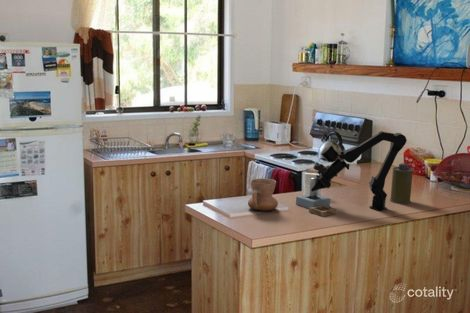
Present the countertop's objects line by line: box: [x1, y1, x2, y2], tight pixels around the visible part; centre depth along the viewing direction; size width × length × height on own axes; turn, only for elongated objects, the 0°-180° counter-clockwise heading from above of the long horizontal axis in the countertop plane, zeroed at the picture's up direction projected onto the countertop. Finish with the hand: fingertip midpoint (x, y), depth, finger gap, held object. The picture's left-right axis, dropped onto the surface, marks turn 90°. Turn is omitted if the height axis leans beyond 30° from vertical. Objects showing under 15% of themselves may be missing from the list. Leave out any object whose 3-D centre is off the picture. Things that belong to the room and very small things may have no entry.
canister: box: [389, 162, 414, 205], centre depth 313 cm, size 11×10×20 cm
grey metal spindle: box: [309, 177, 318, 200], centre depth 299 cm, size 4×4×13 cm
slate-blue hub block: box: [295, 194, 331, 209], centre depth 300 cm, size 12×12×4 cm
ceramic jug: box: [247, 177, 279, 212], centre depth 289 cm, size 18×14×14 cm
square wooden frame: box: [308, 205, 337, 217], centre depth 287 cm, size 9×9×2 cm
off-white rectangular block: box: [303, 172, 322, 196], centre depth 319 cm, size 9×9×12 cm
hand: (311, 189), depth 299 cm, fingers closed on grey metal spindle, 4 cm apart
